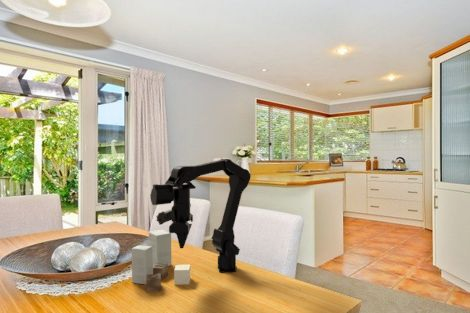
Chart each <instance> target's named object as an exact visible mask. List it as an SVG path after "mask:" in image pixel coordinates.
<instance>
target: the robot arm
mask: <svg viewBox="0 0 470 313" xmlns="http://www.w3.org/2000/svg"><path fill="white" fill-rule="evenodd" d="M221 171H223V173H224V174H225V175H226V176H228V186H229V191H228V192H229V193H228V196H227V200H226V204H225V208H224V211H223V216H222V219H221V224H220V226H218V228H214V229H213V231H212V232H213V233H212V237H211V243H212V246H213V247H214V248H215V251H216V252H218V253H219V255H218V256H217V269H218V272H219V273H229V272H231V273H232V272H234V273H235V272H237V265H236V264H237V262H236V261H237V258H236V256H239V254H240V249H241V248H239V247H238V246H237V245H236V244H235V232H234V231H235V230H234V226H235V222H236V218H237V215H238V211H239V206H240V202H241V198H242V194H243V193H244V191H245V190H246V188H248V186H249V183H250V181H251V177H252V176H251V175H252V174H251V173H250V171H249V170H248V169H247V168H243V166H241V165H239V164H237V163H235V162H234V161H232V160H231V159H229V158H221V159H218V160H215V161H211V162H205V163H201V164H197V165H178V166H174V167H173V168H172V170H171V172H170V176H169V177H168V179H167V180H166V181H165V183H164V184H157V183H155V184H153V185H152V188H151V190H150V191H151V192H150V196H149V197H150V202H151V205H152V206H158V205H159V206H161V205H167V204H169V205H170V204H172V203H173V206H171V209H169V210H166V211H161V212H158V214H157V215H156V222H158V224H159V225H163V224H165V223H168V222H170V221H171V223H170V225H169V226H168V232H169V233H171V234H175V235H176V238H177V241H178V244H179V248H180V249H184V248H185V245H186V242H187V239H188V236H189V234H190V232H191V231H190V230H191V227H192V224H193V223H192V222H193V221H194V215H193V213H191V206H192V204H191V190H192V189H193V190H194V189H196V186H195V184H193V183H192V182H193V181H195V180H196V179H197V178H199V177H201V176H205V175H209V174H212V173H217V172H221ZM189 222H191V223H189Z"/></svg>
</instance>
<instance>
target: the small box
mask: <svg viewBox="0 0 470 313" xmlns="http://www.w3.org/2000/svg"><path fill="white" fill-rule="evenodd" d="M148 246H152V248H153V265H155V264H156V263H161V264H168V267H169V266H172V233H169V231H166V230H164V229H157V230H152V231H148Z"/></svg>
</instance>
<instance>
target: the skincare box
mask: <svg viewBox="0 0 470 313" xmlns="http://www.w3.org/2000/svg"><path fill="white" fill-rule="evenodd" d="M150 274H153V248H152V246H149V245H142V244H139V245H136V246H134V247H132V248H131V283H133V284H139V285H140V284H141V285H146V278H147V275H150Z"/></svg>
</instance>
